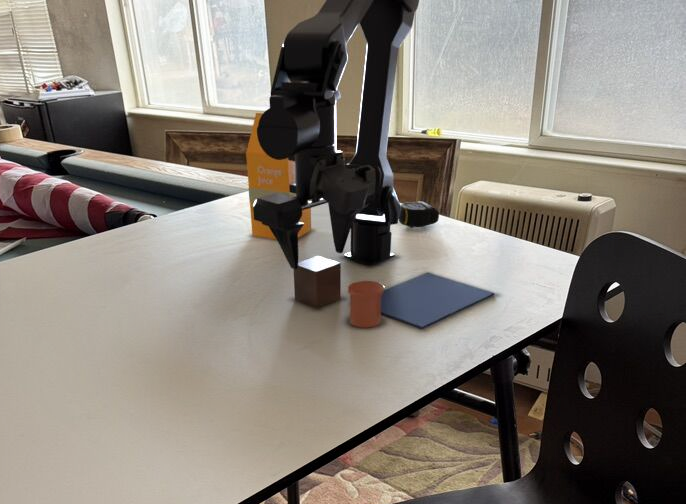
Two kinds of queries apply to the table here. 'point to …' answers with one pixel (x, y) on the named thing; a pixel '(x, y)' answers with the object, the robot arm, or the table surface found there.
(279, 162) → the orange juice
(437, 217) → the tape measure
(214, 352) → the table surface
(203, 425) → the table surface
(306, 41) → the robot arm
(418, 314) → the cloth
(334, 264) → the walnut block
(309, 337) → the table surface
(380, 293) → the terracotta pot
